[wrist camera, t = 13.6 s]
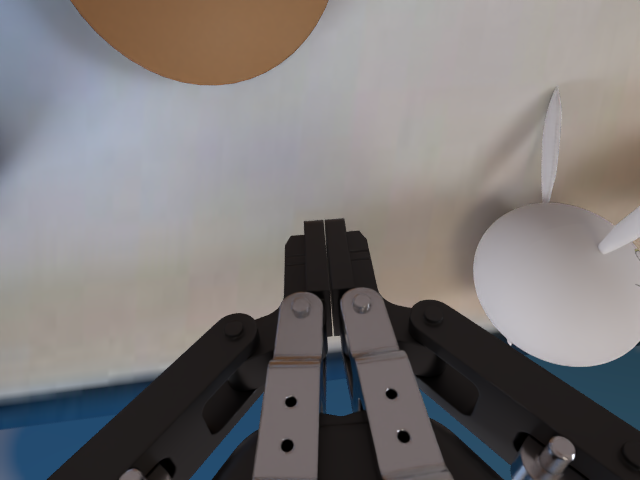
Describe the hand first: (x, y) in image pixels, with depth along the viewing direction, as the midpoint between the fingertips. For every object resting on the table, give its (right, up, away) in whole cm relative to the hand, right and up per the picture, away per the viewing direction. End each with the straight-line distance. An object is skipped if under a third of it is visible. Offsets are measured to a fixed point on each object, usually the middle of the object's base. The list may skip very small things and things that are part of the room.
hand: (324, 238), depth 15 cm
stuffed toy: (+21, +3, +29) cm, 36 cm away
